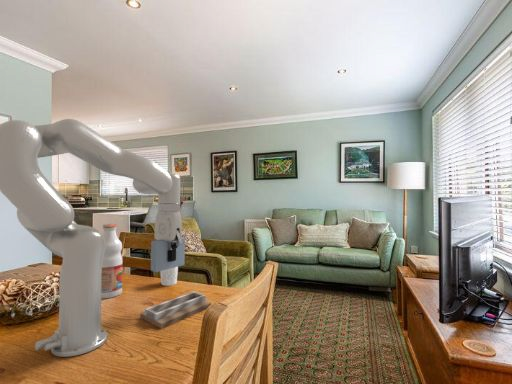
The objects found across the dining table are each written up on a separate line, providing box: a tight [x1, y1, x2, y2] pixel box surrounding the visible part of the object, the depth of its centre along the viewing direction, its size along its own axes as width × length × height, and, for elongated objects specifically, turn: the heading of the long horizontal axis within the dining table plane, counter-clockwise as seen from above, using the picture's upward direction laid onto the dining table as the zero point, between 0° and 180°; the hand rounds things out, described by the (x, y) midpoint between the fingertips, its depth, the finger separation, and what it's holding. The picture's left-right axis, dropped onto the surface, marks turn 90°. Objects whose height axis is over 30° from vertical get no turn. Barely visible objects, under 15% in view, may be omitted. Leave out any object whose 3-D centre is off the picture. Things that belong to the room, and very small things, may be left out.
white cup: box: [159, 266, 179, 287], centre depth 122 cm, size 8×8×10 cm
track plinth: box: [139, 291, 212, 330], centre depth 92 cm, size 20×12×4 cm, turn 142°
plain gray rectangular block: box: [150, 236, 186, 273], centre depth 95 cm, size 12×3×10 cm, turn 145°
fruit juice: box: [101, 223, 123, 299], centre depth 108 cm, size 9×9×28 cm
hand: (168, 259), depth 95 cm, fingers closed on plain gray rectangular block, 3 cm apart
